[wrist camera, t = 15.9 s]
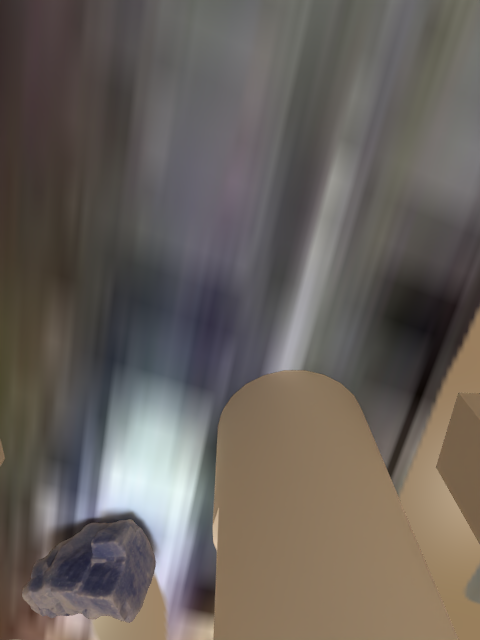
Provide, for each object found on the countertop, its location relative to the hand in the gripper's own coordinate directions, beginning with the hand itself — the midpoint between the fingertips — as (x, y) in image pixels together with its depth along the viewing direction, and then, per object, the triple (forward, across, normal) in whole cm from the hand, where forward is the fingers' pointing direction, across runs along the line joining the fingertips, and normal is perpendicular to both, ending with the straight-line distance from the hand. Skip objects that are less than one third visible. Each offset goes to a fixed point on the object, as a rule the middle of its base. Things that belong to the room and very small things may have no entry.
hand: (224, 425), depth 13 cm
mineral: (+32, -16, -44) cm, 57 cm away
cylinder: (+32, +8, -26) cm, 42 cm away
